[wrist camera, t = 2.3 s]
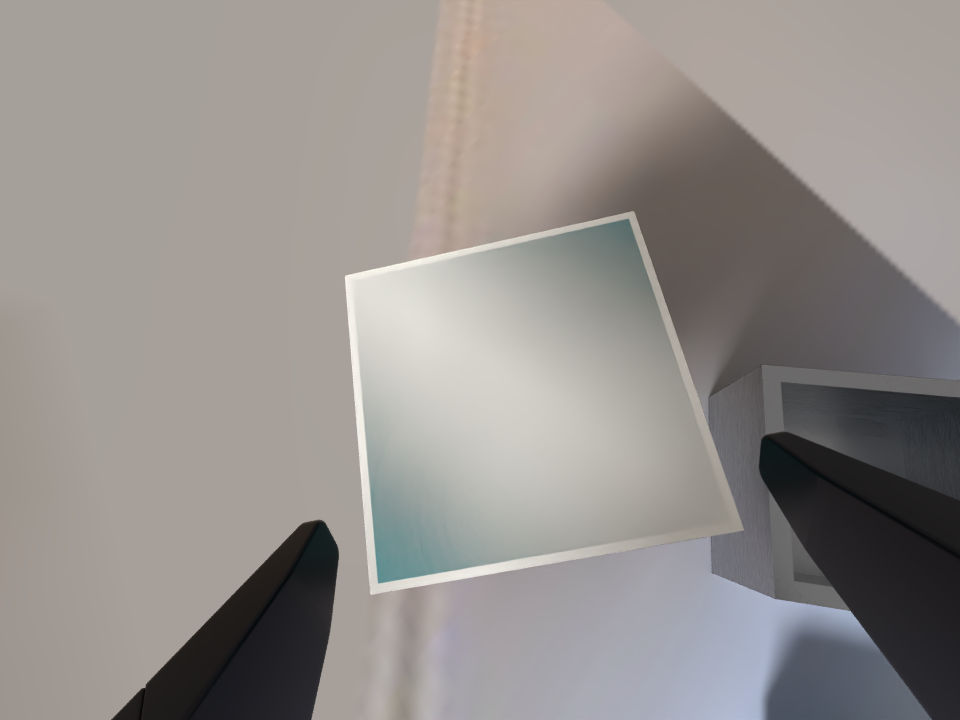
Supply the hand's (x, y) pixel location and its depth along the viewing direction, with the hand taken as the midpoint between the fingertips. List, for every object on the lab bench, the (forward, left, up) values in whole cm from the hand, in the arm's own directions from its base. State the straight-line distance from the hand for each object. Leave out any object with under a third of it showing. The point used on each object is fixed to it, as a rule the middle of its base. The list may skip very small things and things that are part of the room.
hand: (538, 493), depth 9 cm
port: (+1, -10, -9) cm, 13 cm away
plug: (+1, 0, -9) cm, 9 cm away
